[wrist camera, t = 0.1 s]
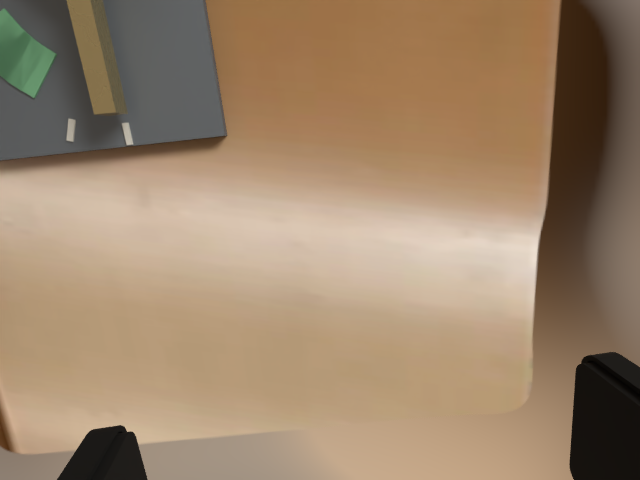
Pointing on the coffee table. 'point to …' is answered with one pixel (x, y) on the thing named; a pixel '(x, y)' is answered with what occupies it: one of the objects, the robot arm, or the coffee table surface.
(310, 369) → the coffee table surface
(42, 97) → the dial plate
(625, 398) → the robot arm
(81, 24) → the needle
